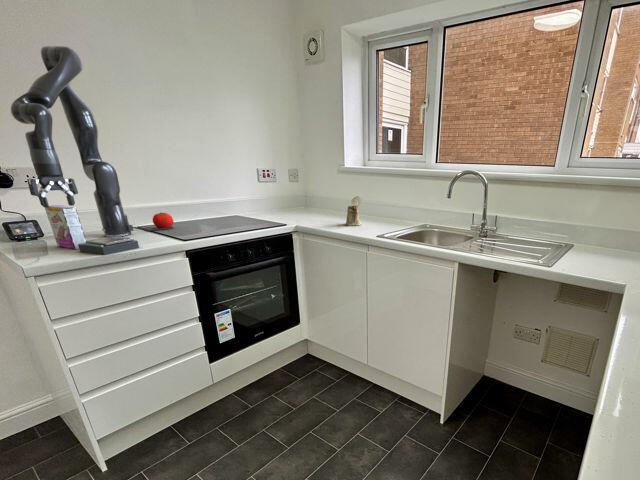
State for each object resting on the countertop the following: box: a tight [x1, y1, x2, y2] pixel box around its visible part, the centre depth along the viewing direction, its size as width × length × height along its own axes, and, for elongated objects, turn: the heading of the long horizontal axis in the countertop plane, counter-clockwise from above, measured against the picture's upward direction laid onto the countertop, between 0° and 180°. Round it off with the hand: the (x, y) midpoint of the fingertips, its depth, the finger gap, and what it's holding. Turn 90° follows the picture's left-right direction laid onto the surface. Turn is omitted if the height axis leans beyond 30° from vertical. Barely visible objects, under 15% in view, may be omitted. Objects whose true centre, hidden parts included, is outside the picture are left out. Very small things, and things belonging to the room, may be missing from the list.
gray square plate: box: [86, 236, 135, 245], centre depth 142 cm, size 11×11×1 cm
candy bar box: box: [44, 204, 87, 250], centre depth 141 cm, size 11×5×16 cm, turn 71°
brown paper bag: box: [345, 196, 362, 227], centre depth 213 cm, size 9×14×18 cm, turn 27°
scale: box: [78, 239, 140, 256], centre depth 142 cm, size 14×13×3 cm
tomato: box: [152, 212, 175, 229], centre depth 186 cm, size 9×10×8 cm
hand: (59, 206), depth 138 cm, fingers open, 8 cm apart
